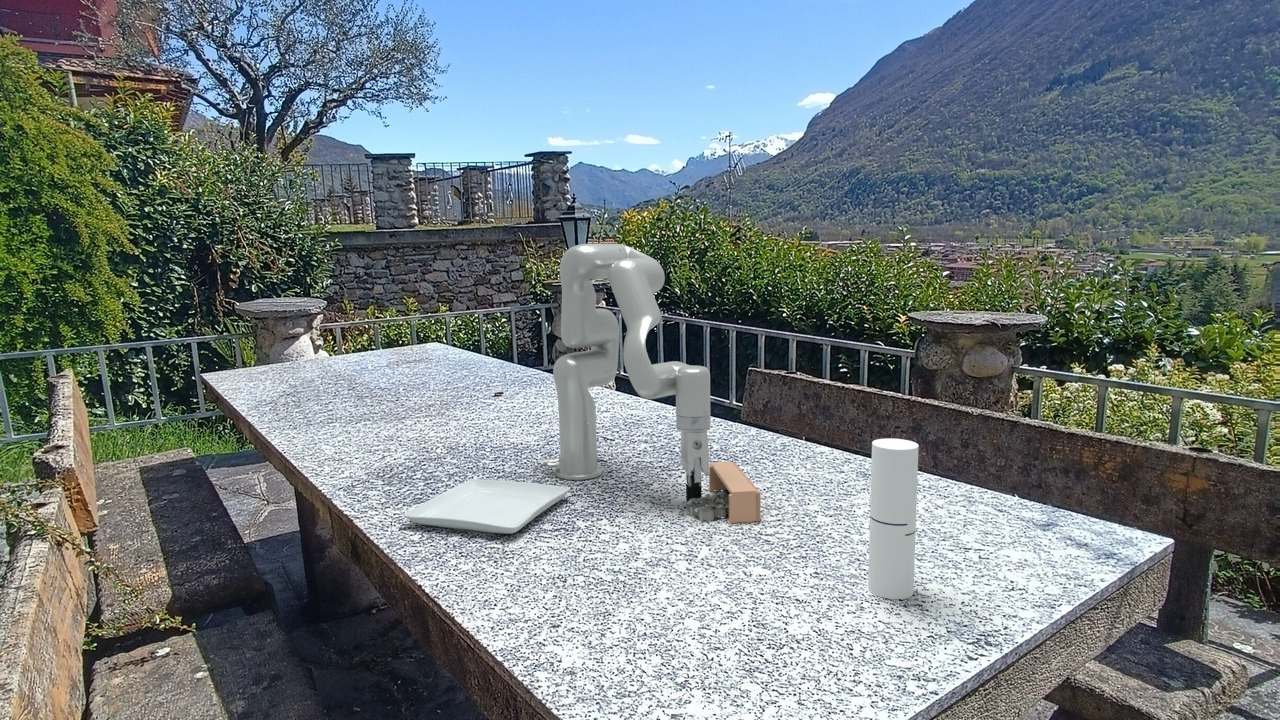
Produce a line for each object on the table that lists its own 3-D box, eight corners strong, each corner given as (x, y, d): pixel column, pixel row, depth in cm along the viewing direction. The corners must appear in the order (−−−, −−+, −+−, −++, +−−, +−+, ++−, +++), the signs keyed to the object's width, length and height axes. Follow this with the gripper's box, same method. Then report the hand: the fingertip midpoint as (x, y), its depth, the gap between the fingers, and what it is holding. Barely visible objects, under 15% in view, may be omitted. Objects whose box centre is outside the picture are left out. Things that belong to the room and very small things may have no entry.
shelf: (730, 523, 154) (729, 492, 153) (708, 490, 176) (708, 462, 175) (760, 521, 155) (760, 490, 154) (735, 488, 177) (735, 461, 176)
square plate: (573, 501, 171) (572, 485, 171) (516, 545, 146) (515, 526, 145) (471, 490, 180) (471, 475, 179) (401, 530, 154) (400, 513, 154)
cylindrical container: (861, 581, 126) (865, 439, 122) (901, 579, 126) (906, 437, 123) (878, 600, 119) (882, 450, 115) (921, 598, 119) (926, 448, 116)
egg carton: (703, 524, 154) (703, 506, 154) (684, 514, 161) (683, 496, 160) (744, 514, 160) (744, 496, 159) (723, 505, 166) (723, 487, 165)
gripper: (717, 429, 155) (717, 513, 157) (703, 414, 169) (704, 491, 172) (681, 430, 154) (682, 514, 156) (671, 415, 169) (672, 492, 171)
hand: (693, 502), depth 164 cm, fingers closed
